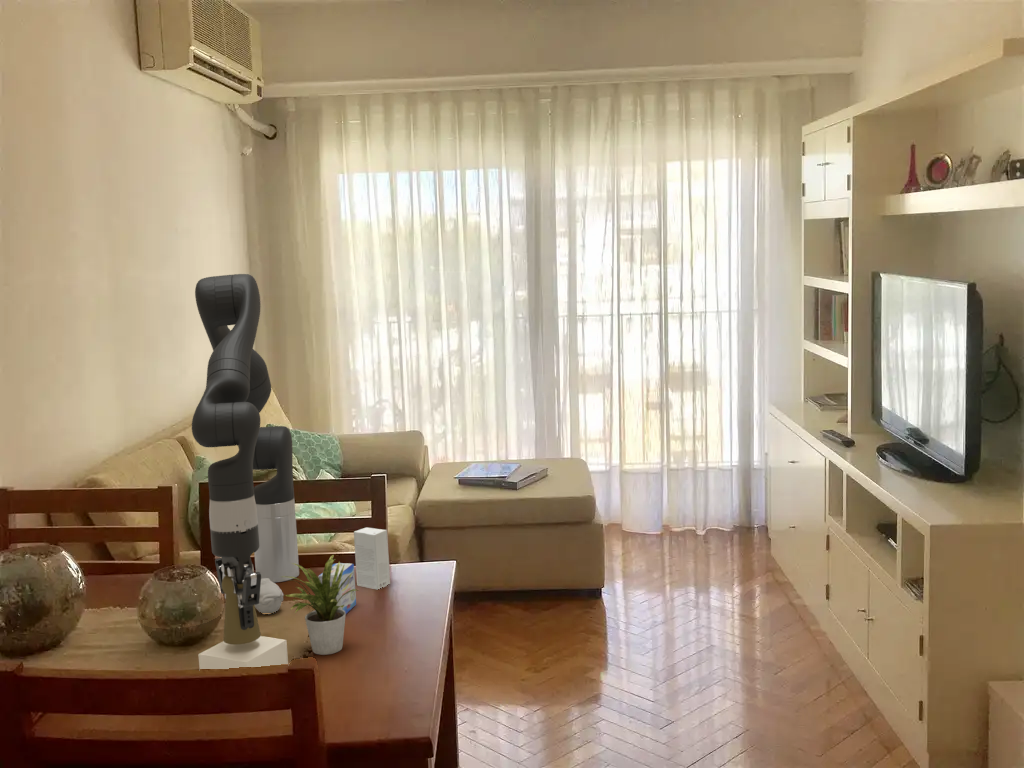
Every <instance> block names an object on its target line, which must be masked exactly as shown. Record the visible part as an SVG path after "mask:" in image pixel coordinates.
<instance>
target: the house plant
mask: <svg viewBox="0 0 1024 768" xmlns="http://www.w3.org/2000/svg"><path fill="white" fill-rule="evenodd" d="M335 561H336V558H334V554H332V555H330V557H329V559H328V560H327V561H326V562H325V565H324V569H323V571H322V573H323V574H322V573H321V574H322V584H321V581H320V580H319V578H318V576H319V575H317V574H316V573H315V572H314V571H313V570H312V569H311V568H309V567H308V569H307V568H305V567H303V566H302V565H300V564H299V565H297V564H294V563H292V564H294V565H297V566H298V567H299V569H301V571H302V572H303V573H304V575H305V576H306V577H305V578H306V579H307V580H308V581H303V580H301V579H300V578H297V577H289V578H293V579H295V580H293V579H291V580H287V581H289V582H290V581H293V582H295V583H298V584H300V586H301V587H303V588H301V587H299V586H296V588H297V589H298V590H299V591H300V593H291V594H284V596H283V597H287V598H297V599H301V600H305V601H308V602H309V603H307V602H298V600H297V599H294V601H295V602H296V601H297V603H295V604H293V606H292V607H291V608H290V610H292V609H294V608H296V609H295V612H294V614H296V612H298V611H300V610H301V609H303V608H305V607H307V608H308V609H310V610H311V611H309V612H308V613H306V614H305V615H304V620H305V625H306V629H307V633H308V638H309V642H310V646H311V650H312V652H313V653H314V654H315V655H322V656H325V655H332V654H335V653H339V652H340V651H341V650H342V649H343V644H344V634H345V624H346V623H345V622H346V615H347V614H346V612H345V611H344V610H342V609H343V606H344V605H342V606H336V605H337V604H338V602H339V600H340V599H341V598H342V597H343V596H344V595H345V594H347V593H349V592H351V591H355V592H356V591H358V592H360V589H357V588H355V589H354V590H350V591H348V592H346V593H345V594H343V595H342V596H341V598H340V599H339V600H338V602H337V599H336V597H337V594H338V592H339V590H340V588H341V587H342V585H343V584H344V583H345V581H346V580H347V579H348V577H349V576H350V575H351V574H350V575H349V576H348V577H347V578H346V579H345V581H344V582H343V583H342V584H341V585H340V587H339V584H340V581H341V580H342V579H343V578H342V579H341V577H342V574H343V570H344V566H343V568H342V570H341V572H340V574H339V577H338V580H337V581H336V578H337V575H338V572H339V565H340V563H341V562H340V560H339V561H338V566H337V568H336V571H335V575H334V578H333V582H332V586H331V587H330V576H331V569H332V565H333V564H334V562H335ZM344 565H345V564H344ZM283 577H288V576H283ZM297 580H298V581H297ZM299 581H301V582H302V583H303V584H305V585H303V584H302V583H301V582H299ZM305 586H307V587H308V588H309V589H310V590H311V591H312V593H313V594H311V593H310V592H309V591H308V589H307V588H306V587H305ZM338 587H339V588H338ZM310 607H311V608H312V609H311V608H310ZM339 607H342V609H338V608H339Z"/></svg>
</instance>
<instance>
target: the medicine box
mask: <svg viewBox="0 0 1024 768" xmlns="http://www.w3.org/2000/svg"><path fill="white" fill-rule="evenodd" d="M338 563H339V562H338ZM338 563H333V565H332V569H331V576H330V587H331V586H332V582H333V578H334V575H335V571H336V568H337V566H338ZM344 564H345V565H344ZM343 566H344V570H343V574H342V577H341V579H342V578H343V579H342V580H341V581H340V584H339V587H340V585H341V584H342V583H343V582H344V581H345V579H346V578H347V577H348V576H349V575H350V574H351V575H350V576H349V577H348V579H347V580H346V581H345V583H344V584H343V585H342V587H341V588H340V590H339V592H338V594H337V597H336V599H337V602H338V600H339V599H340V598H341V596H342V595H343V594H345V593H346V592H348V591H350V590H354V589H356V579H355V564H354V563H350V562H349V563H347V562H346V563H343V562H340V565H339V572H338V575H337V578H336V581H337V580H338V577H339V574H340V572H341V570H342V568H343ZM322 574H323V572H322V573H320V574H319V575H317V576H318V578H319V580H320V581H321V584H322ZM339 587H338V588H339ZM342 605H344V606H343V609H342V607H339V608H338V609H342V610H344V611H345V612H346V615H347V614H348V613H349V612H350V611H351V610H353V608H354V607H355V606H356V605H357V596H356V591H351V592H349V593H347V594H345V595H344V596H343V597H342V598H341V599H340V600H339V602H338V604H337V605H336V606H342Z"/></svg>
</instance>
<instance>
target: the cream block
mask: <svg viewBox="0 0 1024 768" xmlns="http://www.w3.org/2000/svg"><path fill="white" fill-rule="evenodd" d="M287 641H288V640H287V639H282V638H275V637H269V636H262V635H261V636H260V637H259V638H258V639H257V640H255V641H252V642H249V643H245V644H227V643H225V642H224V641H221V642H219V643H217V644H216V645H213V646H211V647H209V648H208V649H205V650H203V651H202V652H200V653H198V654H197V655H198V666H199V670H200V669H229V668H239V667H261V666H270V665H281V664H288V665H289V658H288V645H287V643H288V642H287Z"/></svg>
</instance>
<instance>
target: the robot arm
mask: <svg viewBox="0 0 1024 768" xmlns="http://www.w3.org/2000/svg"><path fill="white" fill-rule="evenodd" d="M194 297H195V303H196V308H197V310H198V314H199V317H200V320H201V322H202V325H203V328H204V330H205V332H206V335H207V338H208V341H209V343H210V345H211V348H212V352H211V355H210V356H209V359H208V362H207V370H206V383H205V384H206V385H205V386H206V387H205V389H204V391H203V395H202V397H201V399H200V400H199V403H198V404H197V406H196V408H195V411H194V413H193V416H192V419H191V433H192V437H193V438H194V440H195V442H196V443H197V444H198V445H200V446H201V447H203V448H220V447H236V446H237V447H238V452H236V454H235V455H233V456H230V457H228V458H225V459H221V460H217V461H215V462H212V463H211V464H210V465H209V466H208V469H207V483H208V491H209V492H208V494H209V495H208V496H209V507H208V508H209V509H208V513H209V514H208V516H209V517H208V518H209V530H210V541H211V542H210V543H211V552H212V554H213V556H215V557H217V558H215V559H214V563H215V568H216V573H217V579H218V584H219V589H220V590H219V591H220V594H222V595H223V594H224V599H225V600H226V594H225V593H224V592H223V589H222V580H223V578H224V576H226V575H228V576H229V578H230V579H231V581H232V585H233V587H234V588H233V593H234V594H235V595H236V596H237V602H238V607H239V608H238V610H239V618H240V626H241V629H242V630H246V629H247V628H248V627H249V629H250V628H253V627H254V615H253V605H257V604H259V598H260V585H261V579H263V578H269V579H270V581H272V582H273V583H281V582H287V581H288V580H293V579H294V578H289V577H295V578H297V577H299V575H300V568H299V567H298V566H297V565H300V564H299V551H298V548H299V547H298V535H297V534H298V533H297V532H298V531H297V518H296V506H295V505H296V504H295V503H296V502H295V491H294V487H295V486H294V474H293V473H294V472H293V471H294V470H293V469H294V468H293V467H294V466H293V438H292V437H293V436H292V433H291V430H290V429H289V428H288V427H287V426H283V425H278V426H277V425H275V426H261V414H260V413H261V412H262V410H263V409H264V407H265V406H266V404H267V402H268V401H269V399H270V396H271V392H272V382H271V379H270V375H269V370H268V367H267V363H266V362H265V360H264V358H263V357H262V356H261V355H260V353H258V351H256V350H255V349H254V345H255V340H256V336H257V332H258V327H259V322H260V316H261V295H260V290H259V287H258V283H257V280H256V279H255V277H254V276H253V275H252V274H248V273H236V274H235V273H234V274H224V275H215V276H208V277H204V278H200V279H199V280H198V281H197V283H196V284H195V290H194ZM228 326H233V327H232V328H231V330H230V328H229V327H228ZM261 470H262V471H263V470H264V471H265V470H276V474H275V476H273V477H271V479H269V480H267V481H265V482H262V483H260V484H257V485H255V486H254V474H253V473H254V471H261ZM252 554H254V564H253V562H252V558H251V555H252ZM292 563H294V564H297V565H294V564H292ZM254 567H255V570H254ZM254 571H255V572H254ZM283 576H288V577H283ZM237 583H238V584H243V588H242V589H239V588H238V586H237ZM242 593H243V595H242ZM248 597H249V599H248Z"/></svg>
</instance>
